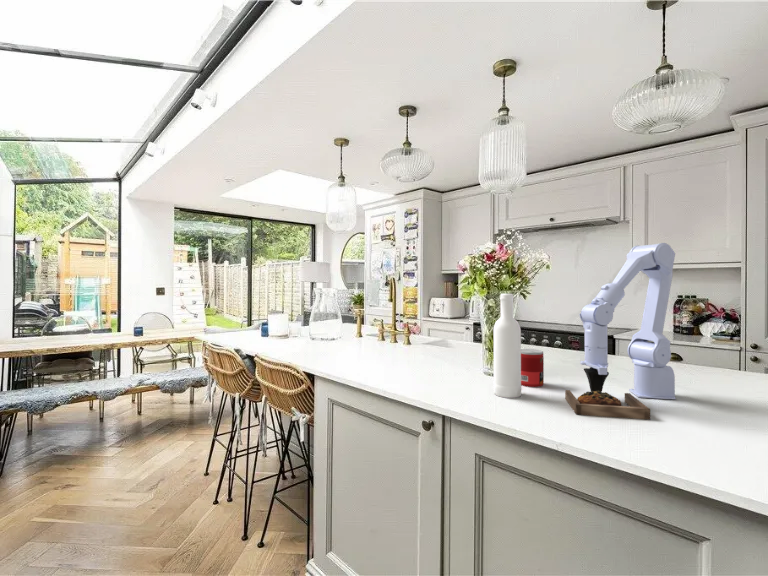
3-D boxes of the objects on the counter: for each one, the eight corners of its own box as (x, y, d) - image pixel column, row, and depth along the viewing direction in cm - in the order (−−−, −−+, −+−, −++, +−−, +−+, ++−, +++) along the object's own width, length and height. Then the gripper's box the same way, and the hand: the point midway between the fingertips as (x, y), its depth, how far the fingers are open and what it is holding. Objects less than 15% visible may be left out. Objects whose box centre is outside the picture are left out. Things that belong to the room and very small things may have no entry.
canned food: (546, 387, 126) (545, 353, 125) (519, 386, 127) (519, 352, 127) (541, 381, 133) (540, 349, 133) (516, 381, 135) (515, 348, 134)
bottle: (496, 398, 115) (496, 294, 114) (490, 390, 123) (490, 293, 122) (525, 398, 114) (524, 294, 114) (517, 390, 122) (516, 293, 122)
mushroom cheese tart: (603, 414, 99) (601, 394, 100) (567, 408, 110) (565, 389, 110) (633, 410, 104) (630, 391, 105) (595, 404, 114) (593, 386, 115)
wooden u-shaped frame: (629, 402, 110) (629, 393, 110) (650, 419, 96) (650, 409, 96) (565, 398, 114) (565, 389, 114) (576, 414, 100) (576, 404, 100)
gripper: (574, 342, 120) (575, 387, 120) (586, 350, 106) (586, 401, 106) (600, 343, 118) (600, 388, 119) (616, 351, 104) (616, 403, 105)
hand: (596, 394), depth 112 cm, fingers closed
